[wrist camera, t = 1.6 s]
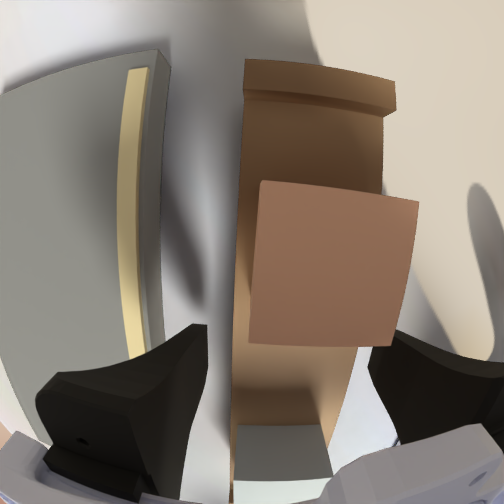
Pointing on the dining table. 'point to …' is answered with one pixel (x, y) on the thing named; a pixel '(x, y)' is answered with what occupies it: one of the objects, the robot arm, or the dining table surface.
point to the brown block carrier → (311, 173)
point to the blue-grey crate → (280, 464)
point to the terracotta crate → (329, 266)
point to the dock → (81, 220)
